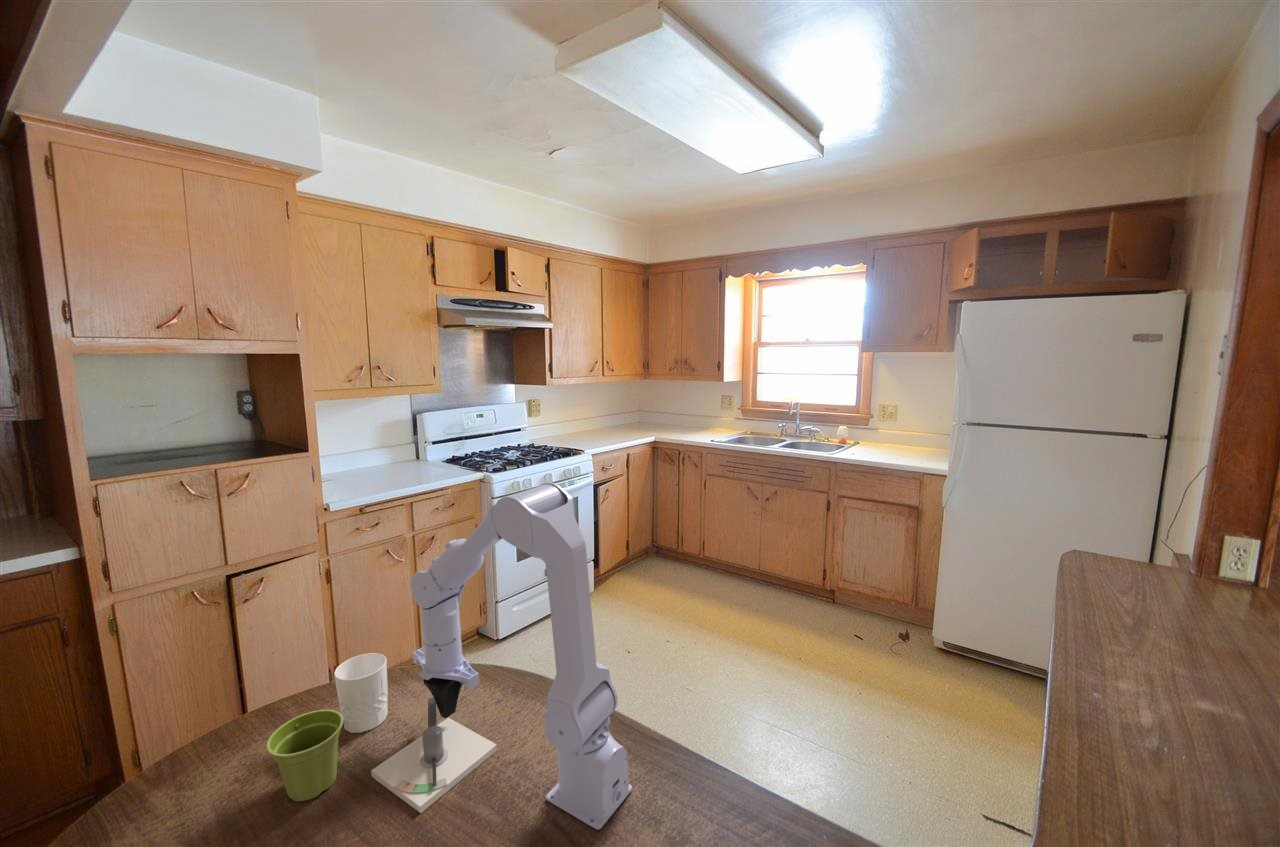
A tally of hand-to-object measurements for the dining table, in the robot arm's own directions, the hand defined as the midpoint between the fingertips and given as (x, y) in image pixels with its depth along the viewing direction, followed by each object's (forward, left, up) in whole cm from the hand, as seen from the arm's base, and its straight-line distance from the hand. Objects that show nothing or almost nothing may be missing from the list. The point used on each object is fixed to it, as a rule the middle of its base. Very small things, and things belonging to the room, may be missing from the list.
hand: (448, 713), depth 87 cm
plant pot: (+8, +18, -3) cm, 20 cm away
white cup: (+15, +6, -3) cm, 16 cm away
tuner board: (-4, +6, -3) cm, 8 cm away
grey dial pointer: (-3, +5, -2) cm, 6 cm away
